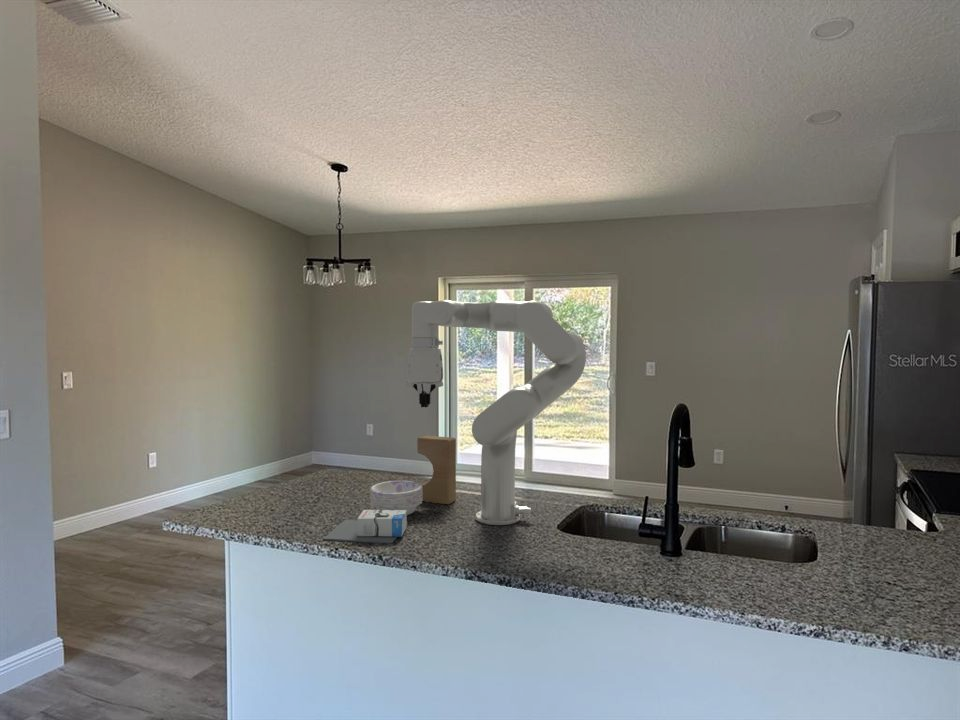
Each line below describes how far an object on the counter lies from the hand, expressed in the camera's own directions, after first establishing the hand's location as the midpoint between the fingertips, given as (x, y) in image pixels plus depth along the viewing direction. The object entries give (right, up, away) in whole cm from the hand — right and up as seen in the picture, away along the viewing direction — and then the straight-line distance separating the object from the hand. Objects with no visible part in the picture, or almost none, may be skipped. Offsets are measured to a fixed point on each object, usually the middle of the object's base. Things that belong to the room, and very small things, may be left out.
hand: (424, 406), depth 179 cm
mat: (-14, -32, -17) cm, 39 cm away
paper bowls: (-8, -31, 0) cm, 32 cm away
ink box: (-3, -29, -19) cm, 35 cm away
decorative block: (+3, -31, +13) cm, 34 cm away
